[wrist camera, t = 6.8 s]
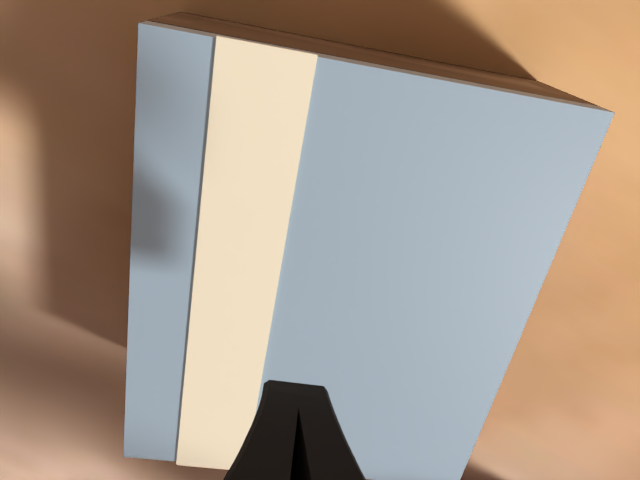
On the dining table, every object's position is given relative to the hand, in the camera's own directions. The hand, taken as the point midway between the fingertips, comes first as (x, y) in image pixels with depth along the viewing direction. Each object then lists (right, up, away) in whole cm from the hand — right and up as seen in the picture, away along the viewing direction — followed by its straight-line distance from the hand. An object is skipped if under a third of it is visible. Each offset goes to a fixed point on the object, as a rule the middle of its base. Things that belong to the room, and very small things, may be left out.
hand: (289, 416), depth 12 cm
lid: (+1, +2, +5) cm, 5 cm away
